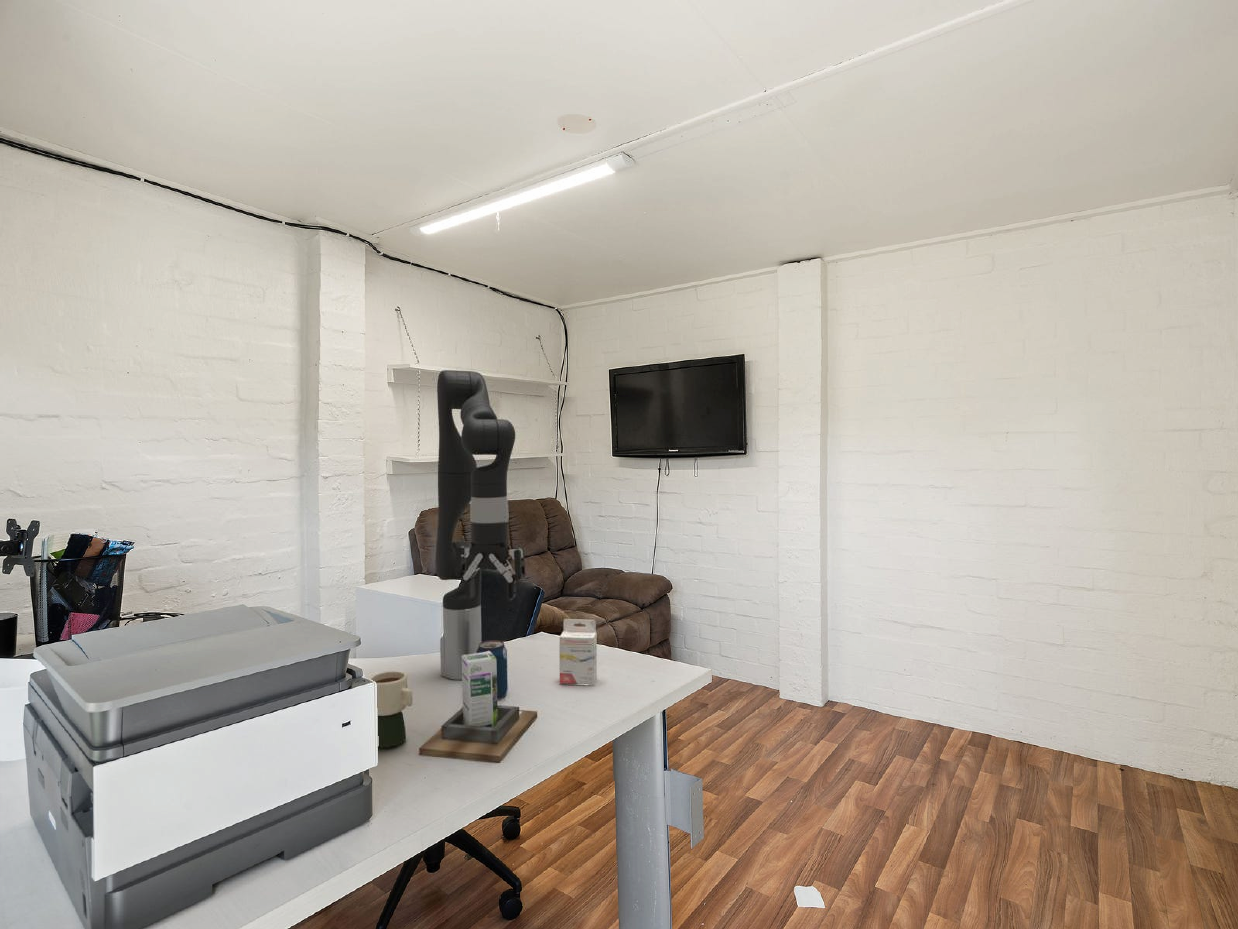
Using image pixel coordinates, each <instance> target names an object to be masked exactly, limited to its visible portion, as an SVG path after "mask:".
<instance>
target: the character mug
mask: <svg viewBox="0 0 1238 929" xmlns="http://www.w3.org/2000/svg"><path fill="white" fill-rule="evenodd" d="M369 679H370V680H373V681H375V682H376V684H377V708H378V736H379V747H378V748H390V747H392V746H396V745H398V744H401V743H402V742H404V741H406V740H407V734H406V725H405V719H404V713H403V712H402V711H404V710H405V709H406V708H407V707H410V706H411V707H412V704H413V690H412V689H411V688H409V686H408V674H407V673H406V672H405V671H402V670H388V671H381V672H378V673H374V674H373V675H371V676H369V677H368V680H369Z"/></svg>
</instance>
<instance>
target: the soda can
mask: <svg viewBox="0 0 1238 929" xmlns="http://www.w3.org/2000/svg"><path fill="white" fill-rule="evenodd" d="M486 651H490V652H491V653H492V654H493V655H494V656H495V658H496V662H497V699H498V700H500V698H501V699H503V698H504V697H505V696H506V694H507V692H508V689H509V688H508V685H509V684H508V679H509V678H508V650H507V648H506V646H505V642H504V641H502V640H497V639H496V640H495V639H494V640H493V639H492V640H491V639H490V640H485V641H481V643H480V644H479V647H478V649H477V652H476V653H482V652H486ZM502 697H503V698H502Z"/></svg>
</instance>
